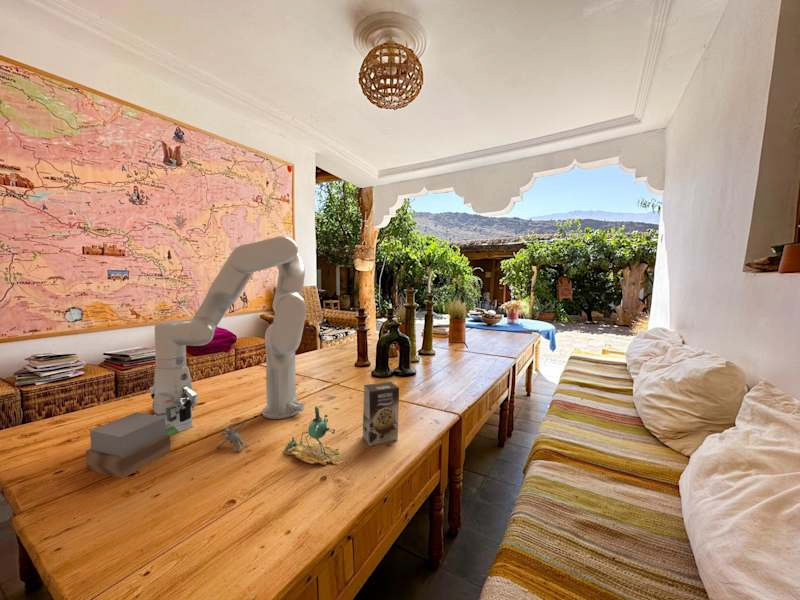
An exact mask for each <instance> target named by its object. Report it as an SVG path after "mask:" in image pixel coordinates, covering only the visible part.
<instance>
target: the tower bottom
mask: <svg viewBox="0 0 800 600" xmlns="http://www.w3.org/2000/svg"><path fill="white" fill-rule="evenodd" d="M171 452H172V450H171V435H165V436H163V437H161V438H159V439H157V440H155V441H153V442H151V443H149V444H147V445H145V446H143V447H141V448H139V449H137V450H135V451H133V452H131V453H129V454H127V455H125V456H123V457H118V456H114V455H110V454H106V453H102V452H97V451H93V450H91V448H90V449H87V450H86V451H85V457H86V469H87V470H91V471H95V472H98V473H100V474H105V475H108V476H112V477H116V478H118V479H119V478H120V479H124V478H126V477H128V476H129V475H131V474H133V473H135V472H137V471H138V470H141V469H142V468H145V467H146V466H147V465H150V464H152V463H153V462H155V461H157V460H159V459H161V458H162V457H164V456H166V455H168V454H169V453H171Z"/></svg>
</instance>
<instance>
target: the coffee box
mask: <svg viewBox="0 0 800 600" xmlns="http://www.w3.org/2000/svg"><path fill="white" fill-rule="evenodd" d="M399 402H400V387H398V386H397V385H396V384H394V383H393V382H392V381H387V382H386V381H385V382H378V383H369V384H363V413H362V415H363V417H362V418H363V419H362V437H363V439H364V440H365V442H366V443H367V445H368V446H369V447H371V446H376V445H381V444H385V443H390V441H391V442H394V441H393V440H395V441H398V440H399V438H398V437H399V434H398V433H399ZM397 439H398V440H397Z"/></svg>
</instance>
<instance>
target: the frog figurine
mask: <svg viewBox="0 0 800 600" xmlns="http://www.w3.org/2000/svg"><path fill="white" fill-rule="evenodd" d="M314 413H315V414H314V415H315V417H314V418H313V419H312V421H310V424H309V426H308V431H303V432H302V433H301V437H300V441H297V438H296V439H294V438H295V437H294V436H292V439H291V440H289V442H288V443H287V444H286V445H285V447H284V450H282V453H283V454H284V455H287V456H288V455H289V456H295V458H297V459H299V460H301V461H302V462H305V463H308V464H319V465H327V463H329V464H330V463H331V464H333V465H336V466H340V465H341V464H342V463H344V460H343V458H342V457H340V452H339V451H338V450H337V449H335V448H334V447H333V445H330V444H329V445H328V444H323V443H322V442H321V441H320V440H319V439H321V438H324V437H325V435H326V433H327V432H330V433H332V434H333V435H334V434H335V432H336V429H334V428H333V429H331V430H330V427H328V426H327V424H328V414H325V415H324V418H322V417H321V416H320V410H319V407H318V405H317V406H314ZM305 434H308V435H307V436H305V441H303V440H302V439H303V435H305ZM308 437H309V439H307V438H308ZM311 439H314V440H316V441H312V442H309V441H310V440H311ZM308 440H309V441H308Z"/></svg>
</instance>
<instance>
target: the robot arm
mask: <svg viewBox="0 0 800 600" xmlns="http://www.w3.org/2000/svg"><path fill="white" fill-rule="evenodd" d="M298 248H299V247H298V244H297V243H296V241H295V240H294V239H293V238H292V237H289V236H286V235H280V236H276V237H271V238H268V239H263V240H259V241H255V242H250V243H246V244H242V245H238V246H237V247H235V248H234V249H233V250H232V252H231V253H230V254H229V256H228V258H227V259H226V261H225V262H224V264H223V266H222V267H221V269H220V271H219V272H218V274H217V275H216V277H215V278H214V280H213V281H212V283H211V285H210V287H209V288H208V290H207V293H206V295H205V298H204V299H203V300H202V303H201V305H200V306H199V308H198V309H197V311H196V312H195V314H194V315H193V317H192V318H191V320H190V322H183V321H182V320H165V321H164V320H163V321H159V322H157V323H156V324H155V325H154V349H155V350H154V352H155V353H154V354H155V355H154V357H155V369H154V378H153V385H152V386H150V387H149V388H148V389H149V393H150V397H151V398H152V400H153V401H152V404H153V403H154V396H156V395H157V394H159V395H163V396H167V397H170V398H171V401H173V402H178V404H179V405H180V407H181V409H180V410H179V412H180V422H183V421H185V420H188V419H190V418H191V406H192V404H193V403H194V400H195V398H196V394H197V392H195V393H194V392H193V391H194V390H193V391H192V389H193V387H192V386H193V385H192V377H191V372H190V369H189V366H188V365H187V346H191V347H196V346H197V347H198V346H199V347H200V346H205V345H207V344H209V343H210V342H211V341H212V340H213V338H214V335H215V330H216V329H217V327H218V325H219V323H220V322H221V320H222V319H223V317H224V315H225V314H226V312H227V311H228V310H229V309H230V307H231V306H232V305H234V304H235V303H236V301H237V300H238V299H239V297H240V296H241V294H242V292H243V291H244V289H245V287H246V285H247V284H248V283H249V281H250V279H251V277H252V276H253V274H254V273H255V272H259V271H262V270H263V271H264V270H267V269H269V268H273V267H277V268H278V277H277V282H276V283H277V284H276V288H275V292H274V298H273V302H272V310H273V311H274V312H273V313H274V316H273V320H272V321H273V322H272V323H271V324H269V326H268V327H267V328H266V330H265V333H264V344H265V345H264V347H265V364H266V365H265V367H266V368H265V374H266V375H265V377H266V379H265V383H266V385H265V387H266V390H265V391H266V406H265V405H264V407H263V408H262V409H261V415H262V416H263V417H264V418H266V419H271V420H272V419H273V420H282V419H286V418H290V417H293V416H295V415H297V414H299V412H303V411H304V410H305V406H306V405H305V403H304V402H299V397H297V395H296V391H297V389H296V366H297V365H296V351H297V350H298V348H299V347H300V344H301V342H302V337H303V332H304V327H305V322H306V318H307V317H306V316H307V303H306V300H305V299H304V297H303V296H302V295H303V290H304V283H305V278H306V275H305V274H306V272H305V271H306V270H305V265H304V262H303V259H302V258H301V255H300V254H299V253H298V252H299V249H298ZM182 396H183V398H181V397H182ZM183 400H185V401H186V402H185V403H183ZM192 407H193V406H192Z"/></svg>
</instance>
